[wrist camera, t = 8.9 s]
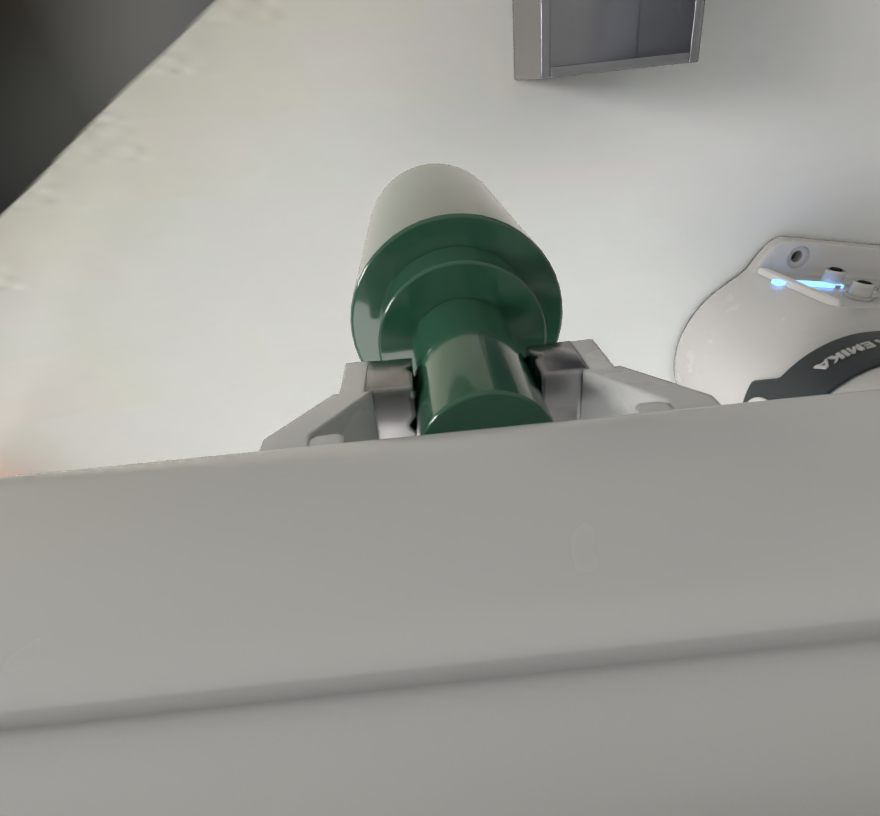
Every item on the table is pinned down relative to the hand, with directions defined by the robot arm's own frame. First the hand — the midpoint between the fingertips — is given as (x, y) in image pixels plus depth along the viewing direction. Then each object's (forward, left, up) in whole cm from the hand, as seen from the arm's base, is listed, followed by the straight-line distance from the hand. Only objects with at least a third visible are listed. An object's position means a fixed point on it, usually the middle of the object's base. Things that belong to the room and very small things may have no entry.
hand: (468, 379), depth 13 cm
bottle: (0, 0, -14) cm, 14 cm away
